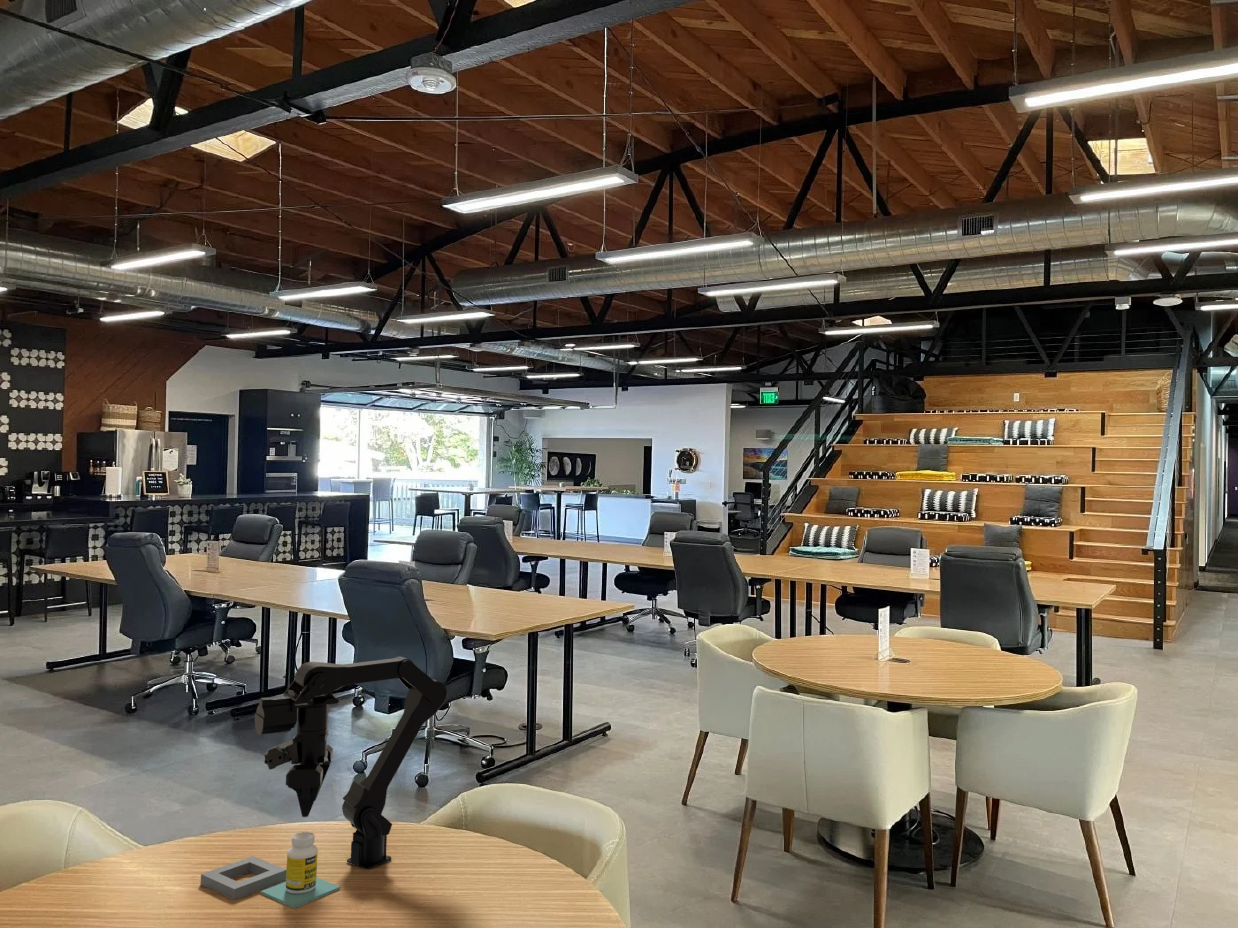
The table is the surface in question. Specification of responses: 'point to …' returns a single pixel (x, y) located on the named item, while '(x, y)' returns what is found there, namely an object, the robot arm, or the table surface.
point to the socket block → (232, 889)
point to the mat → (299, 899)
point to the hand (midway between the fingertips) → (309, 808)
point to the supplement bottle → (301, 864)
